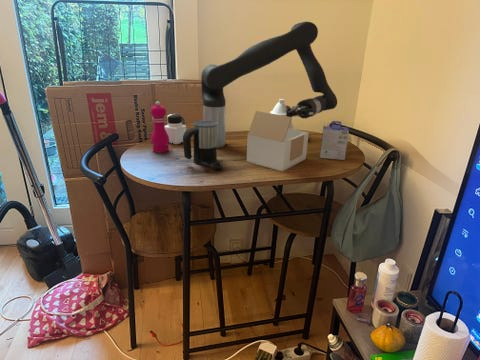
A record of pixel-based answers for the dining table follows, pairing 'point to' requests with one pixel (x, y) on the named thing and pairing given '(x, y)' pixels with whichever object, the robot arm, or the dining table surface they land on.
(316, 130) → the dining table surface
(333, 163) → the dining table surface
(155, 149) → the pepper mill
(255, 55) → the robot arm
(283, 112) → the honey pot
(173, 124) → the medicine bottle
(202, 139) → the milk frother
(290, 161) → the carton
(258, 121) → the front flap
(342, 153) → the ink cartridge box
